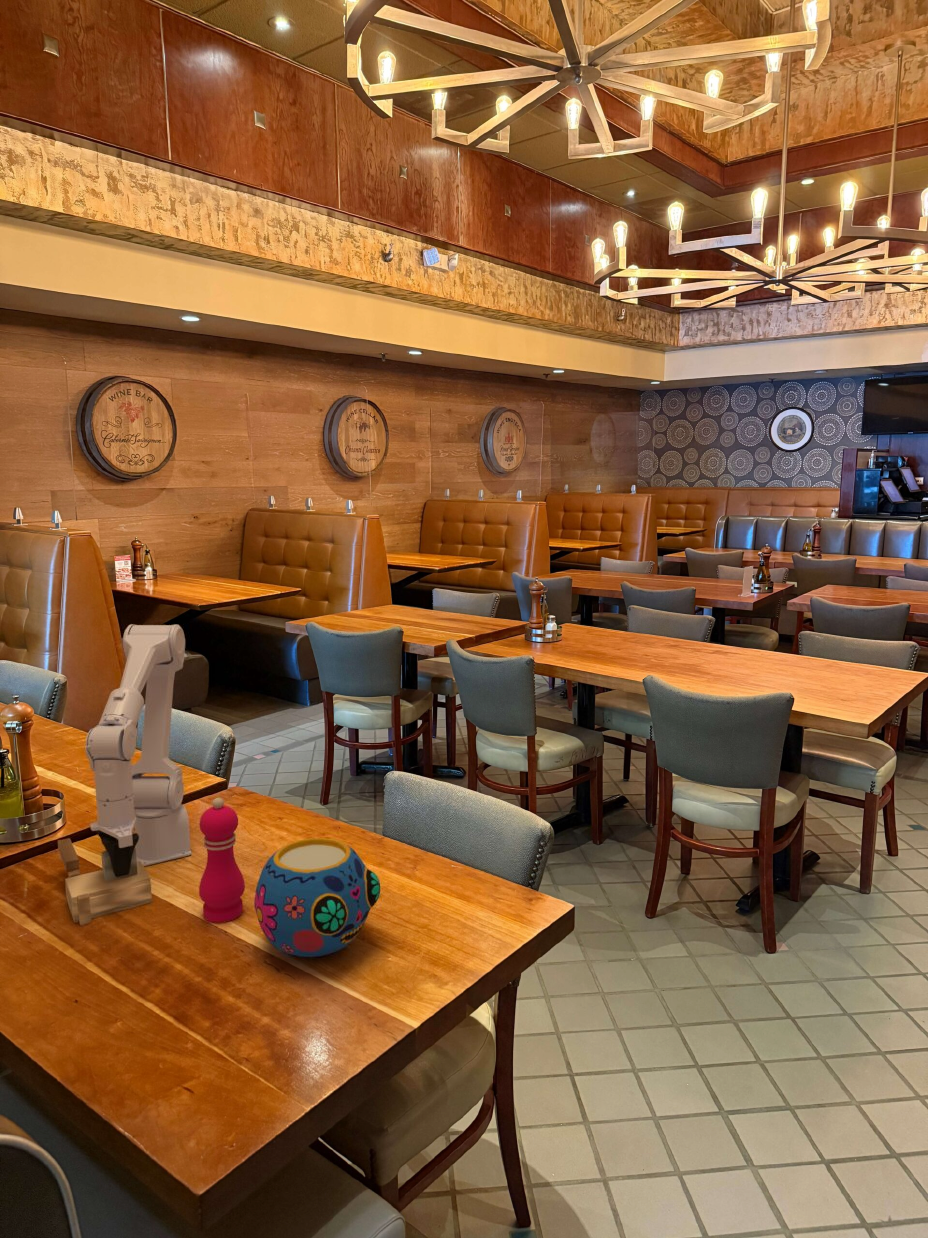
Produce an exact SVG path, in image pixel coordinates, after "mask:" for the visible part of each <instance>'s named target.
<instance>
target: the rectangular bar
mask: <svg viewBox="0 0 928 1238" xmlns="http://www.w3.org/2000/svg"><path fill="white" fill-rule="evenodd" d="M57 847H58V848H57V850H58V852H59V855H60V859H61V860H62V864H63V866H64V869H65V871H66V873H69V872H73V871H77V870H80V860H79V857H78V854H77V852H76V850H75V847H74V845H73V843H72V840H71V838H65V839H64V838H63V839H58V840H57Z"/></svg>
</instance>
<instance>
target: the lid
mask: <svg viewBox="0 0 928 1238" xmlns="http://www.w3.org/2000/svg"><path fill="white" fill-rule="evenodd" d="M135 848H136V847H135ZM135 848H134V851H133V855H132V860H131V866H130V871H129V874H128V875H124V876H120V877H116V876H115V874H114V872H113V868H112V864H111V860H110V856H109V854H108V851H106V850H103V851H101V853H100V854H101V865H102V869H100V870H97V871H92V872H88V873H83V874H80V875H78V876H74V877H70V878H69V877H66V878H65V879H64V881H65V883H66V885H65V887H66V886H67V889H68V891H69V894H70V897H71V900H72V902H76V901H77V896H79V895H83V894H87V893H88V895H89V898H92V897H96V896H100V895H104V894H108V893H112V892H115V891H119V890H123V889H127V888H131V887H135V886H139V885H143V884H147V883H151V877H150V875H149V874H148V872H147V870H146V869H145V866H143V865H142V863H141V861H137V858H136V849H135ZM151 884H152V883H151Z"/></svg>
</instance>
